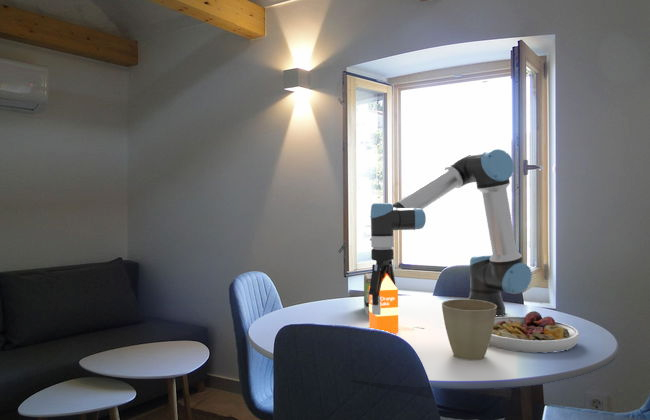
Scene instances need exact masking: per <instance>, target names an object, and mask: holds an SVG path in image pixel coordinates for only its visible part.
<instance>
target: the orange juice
mask: <svg viewBox="0 0 650 420" xmlns="http://www.w3.org/2000/svg"><path fill="white" fill-rule="evenodd" d="M395 285H396V284H395ZM395 285H394V283H393V282H392V280H391V279H390V278H389V276H388V275H387V274H385V277H384V278H383V280H382V284H381V289H380V293H379V295H380V300H381V315H374V314H372V295H369V315H368V316H369V319H368V320H369V322H368V324H369V328H370V329H371V328H374V329H379V330H384V331H388V332H391V333H390V334H393V333H394V334H395V333H399V329H398V327H399V289H398V287H397V286H395ZM369 290H370V286H369Z"/></svg>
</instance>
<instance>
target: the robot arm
mask: <svg viewBox="0 0 650 420" xmlns="http://www.w3.org/2000/svg"><path fill="white" fill-rule="evenodd" d="M514 171H515V165H514V161H513V158H512V156H511V155H510V154H509V153H508V152H506V150H503V149H500V148H489V149H485V150H478V151H472V152H469V153H467V154H465V155H463V156H461V157H459V158H458V159H456V160H454V162H452V163H450V164H449V165H447V166H446V167H444V171H442V172H441V173H440V174H438V175H437V176H434V177H433V178H432V179H431V180H429V181H427V182H426V183H424V184H423V185H420V187H418V188H416V189H415V190H413V191H412V192H410V193H408V194H407V195H406V196H404V197H402V198H401V199H399V200H397V201H396V202H395V203H391V202H376V203H375V202H374V203H371V206H370V231H371V232H370V236H371V237H370V239H369V241H371V242H370V244H371V247H372V249H371V254H370V255H371V256H370V257H371V260H372V261H376V263H375V264H372V267H371V269H372V271H371V274H372V276H371V283H370V290H369V295H372V314H374V315H381V300H380V295H379V293H380V289H381V284H382V280H383V278H384V277H385V274H387V275H388V276H389V278H390V279H391V280H392V282H393V283H394V285H395V286H396V280H395V273H394V267H393V260H394V259H395V258H394V255H395V254H394V249H393V247H394V244H395V243H394V231H416V230H421V229H423V228H424V226H425V225H426V222H427V221H426V214H425V211H424V209H425V208H427V207H428V206H430V205H431V204H432V203H434V202H436V201H437V200H438V199H439V200H440V198H441V197H443V196H445V195H446V194H448V193H449V192H450V191H451V192H452V191H453V190H455V189H460V188H462V187H463V186H466V185H467V184H471V183H476V188H477V190H479V191H480V192H481V193H482V198H483V205H484V211H485V216H486V222H487V228H488V232H489V233H488V234H489V241H490V247H491V251H492V254H491V255H477V256H475V255H474V256H472V257H471V258H470V261H469V282H470V283H469V286H470V287H469V288H470V290H469V291H470V292H469V296H468V299H471V300H481V301H487V302H490V303H493V304H495V305H496V306H497V310H496V315H502V314H504V313H505V314H506V307H505V303H504V301H503V297H502V293H501V292H504V293H507V294H514V295H516V294H521V293H523V292H525V290H527V288H528V287H529V286H530V284H531V283H532V277H533V276H532V271H531V270H532V269H531V268H530V266H528V265H527V264H526V263H524V261H523V256H522V254H521V253H520V252H518V251H517V245H516V239H515V233H514V227H513V222H512V215H511V209H510V203H509V197H508V192H507V191H508V190H507V189H508V188H507V187H509V185H510V183H511V182H510V181H511V180H510V179H511V177H513V173H514ZM396 287H397V286H396ZM505 314H504V315H505ZM502 316H503V315H502Z"/></svg>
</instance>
